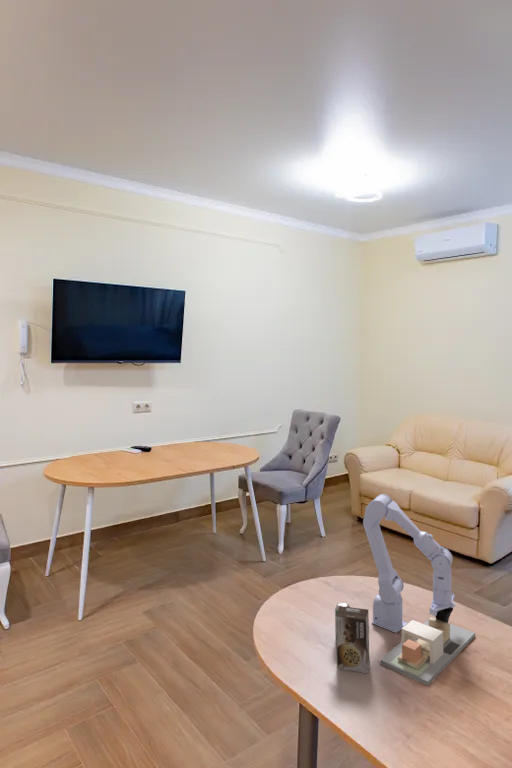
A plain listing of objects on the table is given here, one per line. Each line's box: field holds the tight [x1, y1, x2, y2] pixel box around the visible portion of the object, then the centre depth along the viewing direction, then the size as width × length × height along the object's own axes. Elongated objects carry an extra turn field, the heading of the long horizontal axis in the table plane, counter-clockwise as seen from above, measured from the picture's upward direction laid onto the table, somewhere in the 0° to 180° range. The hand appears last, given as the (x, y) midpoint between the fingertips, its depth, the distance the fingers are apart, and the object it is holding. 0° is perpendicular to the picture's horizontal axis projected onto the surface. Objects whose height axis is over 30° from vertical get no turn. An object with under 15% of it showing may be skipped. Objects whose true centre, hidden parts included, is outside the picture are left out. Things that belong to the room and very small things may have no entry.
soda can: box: [334, 602, 351, 643], centre depth 159 cm, size 5×5×12 cm
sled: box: [398, 616, 451, 669], centre depth 152 cm, size 6×22×5 cm, turn 135°
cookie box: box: [335, 606, 371, 674], centre depth 147 cm, size 9×6×16 cm
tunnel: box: [401, 619, 443, 664], centre depth 151 cm, size 10×7×7 cm
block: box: [402, 639, 421, 663], centre depth 146 cm, size 4×4×4 cm
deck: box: [379, 616, 476, 686], centre depth 155 cm, size 15×34×1 cm, turn 135°
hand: (442, 628), depth 161 cm, fingers closed
